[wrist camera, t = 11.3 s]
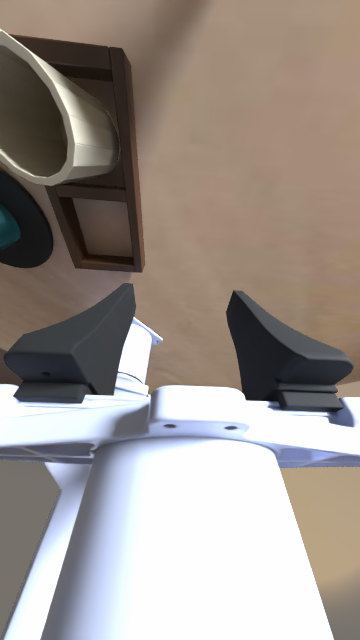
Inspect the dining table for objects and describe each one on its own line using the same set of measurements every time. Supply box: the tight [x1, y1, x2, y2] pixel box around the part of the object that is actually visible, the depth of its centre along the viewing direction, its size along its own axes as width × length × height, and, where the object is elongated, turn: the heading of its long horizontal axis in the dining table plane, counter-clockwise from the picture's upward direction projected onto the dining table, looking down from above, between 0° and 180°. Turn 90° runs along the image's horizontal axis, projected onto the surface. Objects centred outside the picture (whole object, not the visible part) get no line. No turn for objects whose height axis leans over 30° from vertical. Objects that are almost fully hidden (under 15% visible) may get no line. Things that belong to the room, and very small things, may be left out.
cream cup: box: [0, 29, 119, 186], centre depth 11 cm, size 4×4×8 cm
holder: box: [8, 34, 145, 273], centre depth 15 cm, size 7×14×2 cm, turn 176°
